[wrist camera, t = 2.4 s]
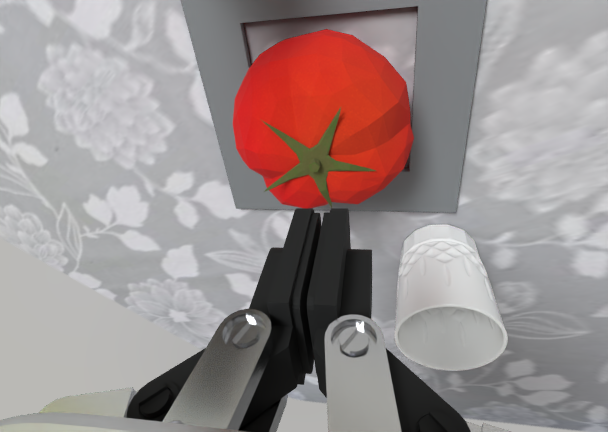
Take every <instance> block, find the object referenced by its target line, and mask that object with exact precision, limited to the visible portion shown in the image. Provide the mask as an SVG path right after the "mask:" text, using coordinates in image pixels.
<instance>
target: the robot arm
mask: <svg viewBox="0 0 608 432" xmlns="http://www.w3.org/2000/svg"><path fill="white" fill-rule="evenodd" d="M371 307H372V250H359V249H351V247H350V226H349V210H348V208H331V210H330V213H324V216H323V221H322V226H321V217H320V213H314V209H313V208H296V210H295V212H294V215H293V219H292V222H291V225H290V228H289V231H288V235H287V238H286V241H285V244H284V247H283V248H271V249H270V251H269V254H268V256H267V259H266V262H265V265H264V268H263V271H262V273H261V276H260V279H259V282H258V285H257V288H256V290H255V293H254V296H253V299H252V302H251V305H250V307H249V309H244V310H239V311H237V312H235V313H232V314H231V315H229V316H228V317H227V318H225V319H224V321H223V322H222V323H221V324H220V326H219V327H218V329H217V331H216V332H215V334H214V336H213V337H212V339H211V341H210V342H209V344H208V346H207V347H206V348H205V349H203V350H202V351H200V352H198V353H197V354H195V355H194V356H192V357H190V358H189V359H187V360H185V361H184V362H182V363H180V364H179V365H177V366H175V367H174V368H172V369H170V370H169V371H167V372H166V373H164V374H162V375H161V376H159V377H157V378H156V379H154V380H152V381H151V382H149V383H147V384H146V385H145V386H144V387H142V388H141V389H140V390H138V391H135V390H134V389H133V388H125V389H117V390H110V391H103V392H96V393H89V394H81V395H75V396H67V397H63V398H60V399H57V400H55V401H53V402H52V403H50V404H48V405H46V406H45V407H44V408H43V409H42V410H41V411H40V412H39V413H34V414H27V415H20V416H16V417H11V418H7V419H3V420H0V432H276V431H277V428H278V425H279V423H280V420H281V417H282V414H283V412H284V409H285V406H286V403H287V398H288V395H287V394H288V393H289V392H291V391H292V390H294V389H295V388H296V387H297V384H301V385H304V380H305V374H306V373H308V374H311V373H312V370H313V364H314V361H315V367H316V373H317V377H318V383H319V389H320V391H321V392H322V393H323V394H324V395H325V397H326V398H327V415H328V432H510V431H507V430H504V429H501V428H498V427H495V426H492V425H488V424H485V423H483V425H482V427H481V426H478V425H475V424H472V423H469V422H466V421H465V420H464V419H463V418H462V417H461V416H460V414H459V413H458V412H457V411H455V410H454V409H453V408H452V407H451V406H450V405H449V404H448V403H447V402H445V401H444V400H443V399H442V398H441V397H440V396H439V395H438V394H436V393H435V392H434V391H433V390H432V389H431V388H430V387H429V386H428V385H426V384H425V383H424V382H423V381H422V380H421V379H420V378H419V377H418V376H416V375H415V374H414V373H413V372H412V371H411V370H410V369H409V368H407V367H406V366H405V365H404V364H403V363H402V362H401V361H400V360H399V359H397V358H396V357H395V356H394V355H393V354H392V353H391V352H390V351H388V350H387V349H386V348H385V342H384V337H383V334H382V331H381V329H380V327H379V326H378V325H377V324H376V323H375V322H374V321H373V320H371Z"/></svg>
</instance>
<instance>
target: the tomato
mask: <svg viewBox="0 0 608 432" xmlns="http://www.w3.org/2000/svg"><path fill="white" fill-rule="evenodd" d="M233 130H234V136H235V143H236V149H237V151H238V153H239V154H240V156H241V158H242V160H243V161H244V162H245V164H246V165H247V166H248V167H249V168H250V169H251V170H253V171H255V172H257V173H258V174H260V175H262V176H263V178H264V181H265V184H266V187H267V189H266V190H265V191H268V190H269V191H270V192H271V193H272V194H273V195H274V196H275V197H276V198H277V199H278V201H279V202H280V203H281V204H284V205H289V206H294V207H299V208H315V207H319V206H324V205H327V204H328V203H329V205H330V206H331V208H332V202H336V203H348V204H359V203H361V202H363V201H365V200H366V199H368V198H370V197H371V196H373V195H375V194H376V193H378V192H379V191H381V190H383V189H384V188H385V187H386V186H387V185H388V184H389V183H390V182H391V181H392V180H393V179H394V178H395V177H396V176H397V175H398V174H399V173H400V172H401V171H402V170H403V169H404V167H405V164H406V162H407V160H408V157H409V154H410V150H411V147H412V144H413V140H414V136H413V132H412V129H411V125H410V107H409V99H408V92H407V85H406V82H405V81H404V79H403V78H402V77H401V76H400V75H399V73H398V72H397V71H396V70H395V69H394V68H393V66H392V65H391V64H390V63H389V62H388V60H387V59H386V58H385V57H384V56H382V55H381V54H379V53H378V52H376V51H375V50H373V49H372V48H370V47H369V46H367V45H366V44H365V43H363V42H362V41H360V40H359V39H357V38H356V37H354V36H353V35H349V34H345V33H340V32H336V31H332V30H327V29H325V30H321V31H317V32H313V33H309V34H305V35H301V36H297V37H292V38H288V39H285V40H283V41H281V42H279V43H277V44H275V45H274V46H272V47H271V48H269V49H268V50H266V51H264V52H263V53H261V54H260V55H259V56H258V58H257V59H256V60H255V61H254V63H253V64H252V65H251V66H250V68H249V69H248V71H247V73H246V75H245V77H244V79H243V81H242V84H241V86H240V88H239V90H238V92H237V95H236V97H235V102H234V113H233ZM265 191H264V192H265Z"/></svg>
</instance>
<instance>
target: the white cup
mask: <svg viewBox="0 0 608 432" xmlns="http://www.w3.org/2000/svg"><path fill="white" fill-rule="evenodd" d="M394 337H395V342H396V345H397V347H398V348H399V350H400V351H401V352H402V353H403V354H404V355H405V356H406V357H407V358H409V359H410V360H412V361H414V362H416V363H418V364H420V365H422V366H425V367H429V368H432V369H437V370H445V371H462V370H470V369H475V368H478V367H481V366H484V365H486V364H489V363H491V362H492V361H494V360H495V359H497V358H498V357H499V356H500V355H501V354H502V353H503V351H504V350H505V348H506V346H507V341H508V337H507V332H506V329H505V326H504V323H503V320H502V317H501V314H500V311H499V308H498V305H497V302H496V299H495V296H494V293H493V290H492V287H491V284H490V281H489V278H488V276H487V273H486V270H485V268H484V265H483V263H482V262H481V260H480V257H479V254H478V251H477V248H476V244H475V241H474V240H473V239H472V238H471V237H470V236H469V235H468V234H467V233H466V232H465V231H464V230H463V229H460V228H457V227H454V226H451V225H448V224H439V225H428V226H425V227H423V228H420V229H417V230H415V231H414V232H413V233H412V234H410V235H409V236H408V237H407V238H406V239H405V240H404V243H403V247H402V250H401V258H400V267H399V275H398V285H397V301H396V319H395V334H394Z"/></svg>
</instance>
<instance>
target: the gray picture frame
mask: <svg viewBox="0 0 608 432" xmlns="http://www.w3.org/2000/svg"><path fill="white" fill-rule="evenodd" d="M486 2H487V0H181V3H182V7H183V11H184V14H185V18H186V22H187V26H188V29H189V33H190V37H191V41H192V45H193V48H194V52H195V56H196V60H197V63H198V67H199V71H200V75H201V78H202V82H203V86H204V90H205V93H206V97H207V101H208V105H209V108H210V112H211V116H212V120H213V123H214V127H215V131H216V135H217V138H218V142H219V146H220V150H221V154H222V157H223V161H224V165H225V169H226V172H227V176H228V180H229V184H230V187H231V191H232V195H233V199H234V202H235V206H236V209H288V210H296V208H299V207H294V206H289V205H284V204H281V203H280V202H279V201H278V199H277V198H276V197H275V196H274V195H273V194H272V193H271V192H270V191H269V190H268V191H265V190H266V189H267V187H266V184H265V181H264V178H263V176H262V175H260V174H258V173H257V172H255V171H253V170H251V169H250V168H249V167H248V166H247V165H246V164H245V162H244V161H243V160H242V158H241V156H240V154H239V153H238V151H237V149H236V143H235V136H234V130H233V113H234V102H235V97H236V95H237V92H238V90H239V88H240V86H241V84H242V81H243V79H244V77H245V75H246V73H247V71H248V69H249V68H250V66H251V63H250V58H249V52H248V47H247V42H246V36H245V31H244V26H243V23H246V22H257V21H267V20H278V19H288V18H299V17H309V16H320V15H330V14H341V13H351V12H362V11H372V10H383V9H393V8H404V7H414V6H418V13H417V32H416V51H415V70H414V89H413V108H412V126H411V129H412V132H413V136H414V140H413V144H412V147H411V150H410V164H409V168H404V169H403V170H402V171H401V172H400V173H399V174H398V175H397V176H396V177H395V178H394V179H393V180H392V181H391V182H390V183H389V184H388V185H387V186H386V187H385V188H384V189H383V190H381V191H379V192H378V193H376V194H375V195H373V196H371V197H370V198H368V199H366V200H365V201H363V202H361V203H359V204H348V203H336V202H332V208H348V210H349V211H397V212H451V213H456V209H457V202H458V195H459V188H460V181H461V174H462V167H463V160H464V153H465V147H466V140H467V133H468V126H469V119H470V112H471V105H472V98H473V91H474V85H475V78H476V71H477V64H478V57H479V50H480V43H481V36H482V29H483V23H484V16H485V9H486ZM264 191H265V192H264ZM313 209H314V210H331V206H330V205H329V203H328V204H327V205H324V206H319V207H315V208H313Z"/></svg>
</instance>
